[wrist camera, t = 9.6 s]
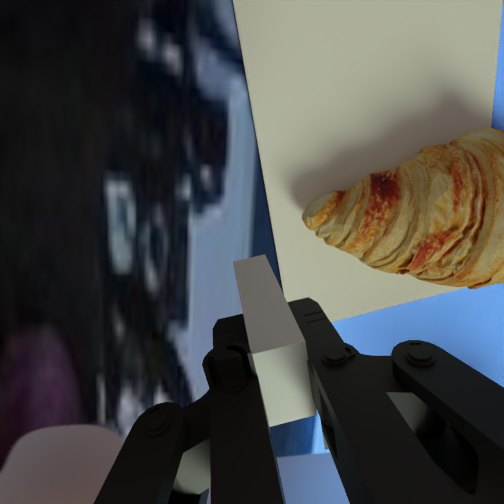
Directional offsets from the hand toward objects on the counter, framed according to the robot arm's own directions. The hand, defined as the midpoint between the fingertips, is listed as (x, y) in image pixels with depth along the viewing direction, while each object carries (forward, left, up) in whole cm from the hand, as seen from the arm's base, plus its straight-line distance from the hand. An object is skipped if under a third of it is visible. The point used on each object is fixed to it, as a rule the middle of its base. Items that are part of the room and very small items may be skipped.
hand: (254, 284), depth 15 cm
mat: (-10, -3, -7) cm, 13 cm away
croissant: (-15, +1, -8) cm, 16 cm away
